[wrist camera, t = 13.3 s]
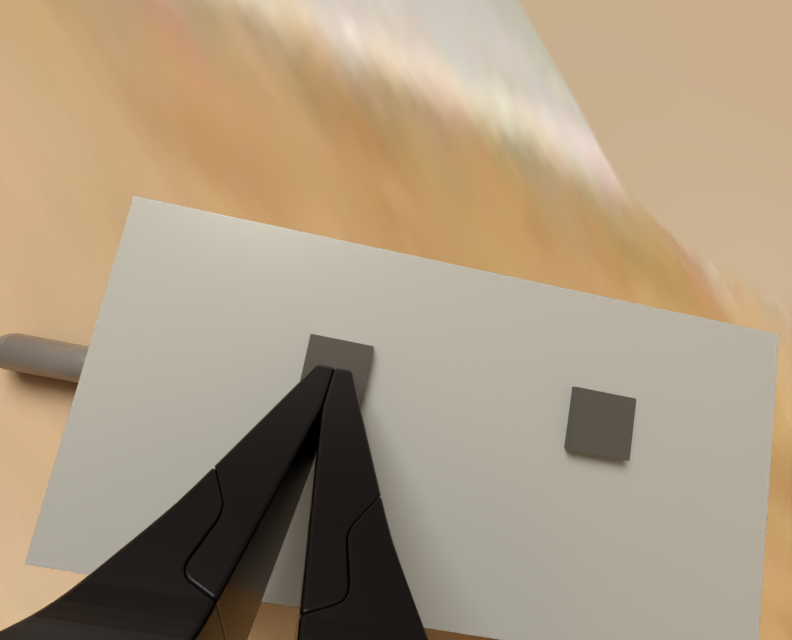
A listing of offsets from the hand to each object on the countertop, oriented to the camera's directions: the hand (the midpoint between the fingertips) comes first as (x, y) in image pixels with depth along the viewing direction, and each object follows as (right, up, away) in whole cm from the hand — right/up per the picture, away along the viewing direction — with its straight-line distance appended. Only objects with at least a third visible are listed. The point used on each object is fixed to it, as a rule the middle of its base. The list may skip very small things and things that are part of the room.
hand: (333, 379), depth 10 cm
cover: (+3, -2, +1) cm, 3 cm away
